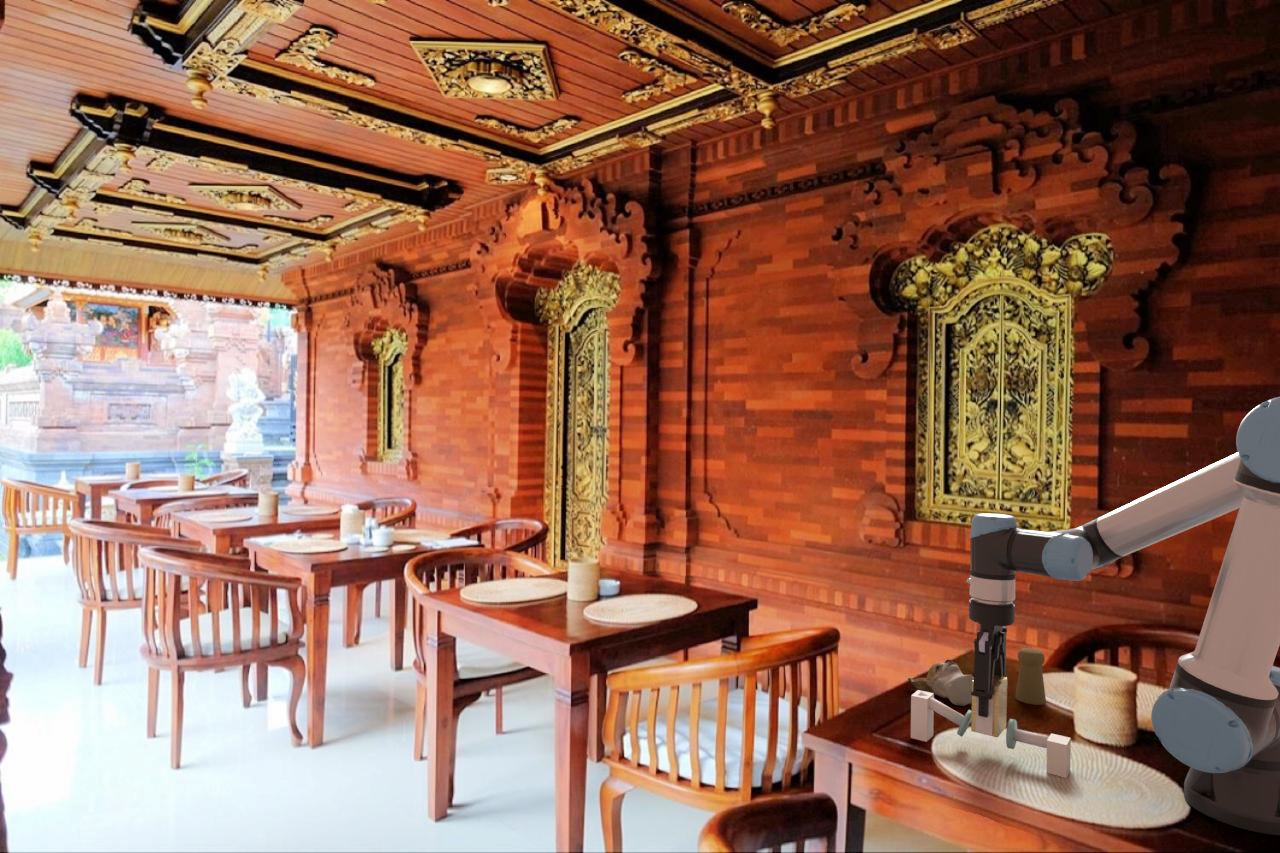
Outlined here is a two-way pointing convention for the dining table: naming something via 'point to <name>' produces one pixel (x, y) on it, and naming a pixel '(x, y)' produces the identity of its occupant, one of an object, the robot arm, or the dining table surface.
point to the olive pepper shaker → (1030, 677)
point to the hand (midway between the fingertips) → (989, 727)
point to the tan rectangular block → (995, 706)
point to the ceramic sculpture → (947, 683)
